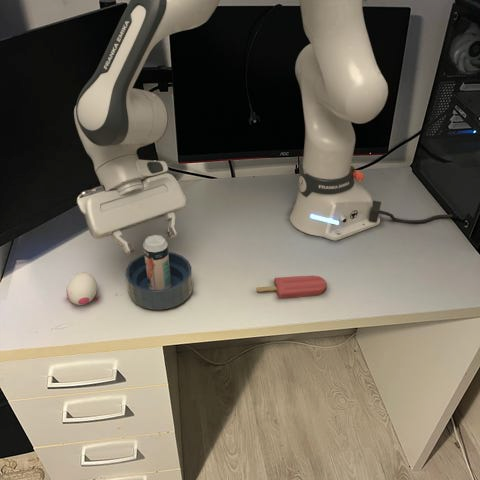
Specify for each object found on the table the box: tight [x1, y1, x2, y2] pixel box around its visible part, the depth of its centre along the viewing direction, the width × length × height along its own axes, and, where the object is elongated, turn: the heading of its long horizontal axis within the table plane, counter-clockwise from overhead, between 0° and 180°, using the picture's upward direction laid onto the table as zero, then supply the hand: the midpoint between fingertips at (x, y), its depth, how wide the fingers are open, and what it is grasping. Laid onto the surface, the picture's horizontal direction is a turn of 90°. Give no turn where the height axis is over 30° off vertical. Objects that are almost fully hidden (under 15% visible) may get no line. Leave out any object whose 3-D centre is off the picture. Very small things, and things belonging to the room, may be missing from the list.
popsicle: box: [256, 275, 328, 299], centre depth 109 cm, size 5×2×15 cm
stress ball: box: [65, 272, 99, 306], centre depth 105 cm, size 8×8×7 cm
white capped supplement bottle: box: [142, 234, 172, 290], centre depth 104 cm, size 5×5×12 cm
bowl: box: [125, 251, 193, 310], centre depth 107 cm, size 13×13×6 cm
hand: (152, 244), depth 102 cm, fingers open, 8 cm apart
